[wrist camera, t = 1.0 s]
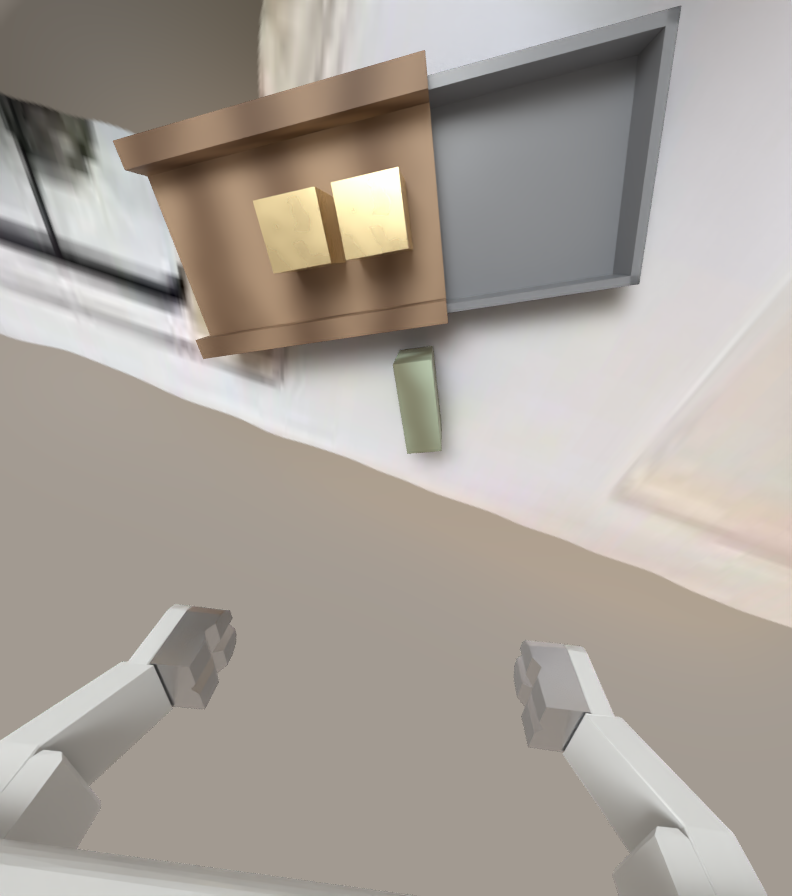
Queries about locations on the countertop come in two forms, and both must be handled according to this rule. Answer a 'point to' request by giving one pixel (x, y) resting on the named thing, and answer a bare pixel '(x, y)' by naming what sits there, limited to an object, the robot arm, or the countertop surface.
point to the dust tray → (551, 163)
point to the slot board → (290, 169)
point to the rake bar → (418, 399)
